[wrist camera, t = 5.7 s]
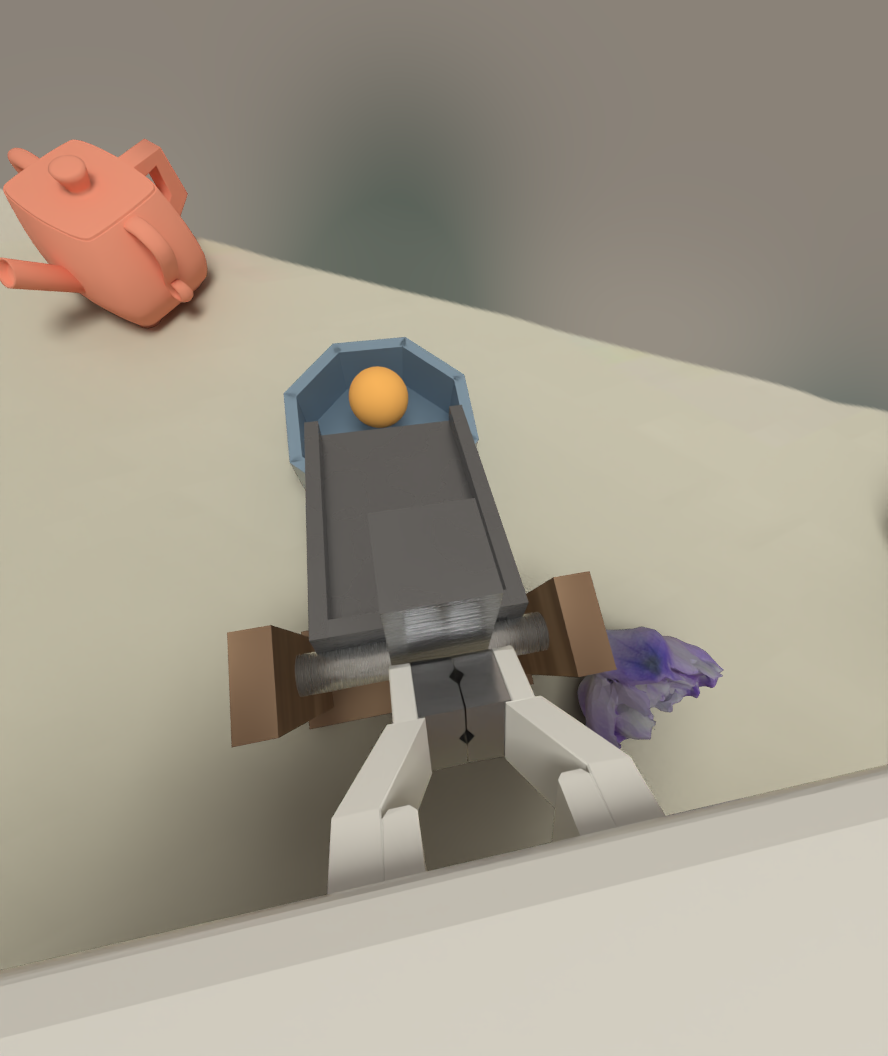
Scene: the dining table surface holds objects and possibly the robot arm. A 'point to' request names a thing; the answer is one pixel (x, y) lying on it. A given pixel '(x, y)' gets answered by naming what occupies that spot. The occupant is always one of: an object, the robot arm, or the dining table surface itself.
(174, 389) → the dining table surface
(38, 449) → the dining table surface
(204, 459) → the dining table surface
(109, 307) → the teapot
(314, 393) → the blue octagonal bowl
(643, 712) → the flower
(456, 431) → the lever
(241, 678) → the stand
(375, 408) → the ball
